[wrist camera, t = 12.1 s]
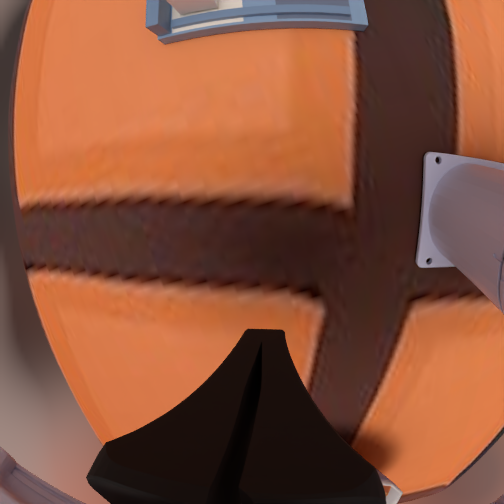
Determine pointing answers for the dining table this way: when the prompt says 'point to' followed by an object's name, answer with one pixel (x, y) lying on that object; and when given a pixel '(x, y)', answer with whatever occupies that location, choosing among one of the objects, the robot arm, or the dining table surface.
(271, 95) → the dining table surface
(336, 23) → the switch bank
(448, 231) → the robot arm
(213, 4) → the tab
